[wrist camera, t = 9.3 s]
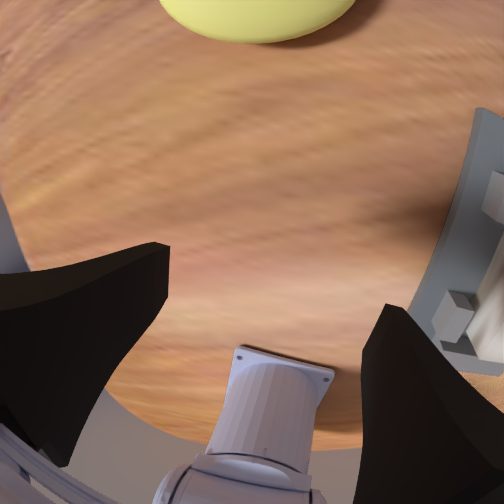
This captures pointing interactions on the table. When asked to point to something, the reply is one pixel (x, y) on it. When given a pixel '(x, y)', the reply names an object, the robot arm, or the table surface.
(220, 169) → the table surface
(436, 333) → the cradle
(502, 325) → the light grey tapered block
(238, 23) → the emoji
